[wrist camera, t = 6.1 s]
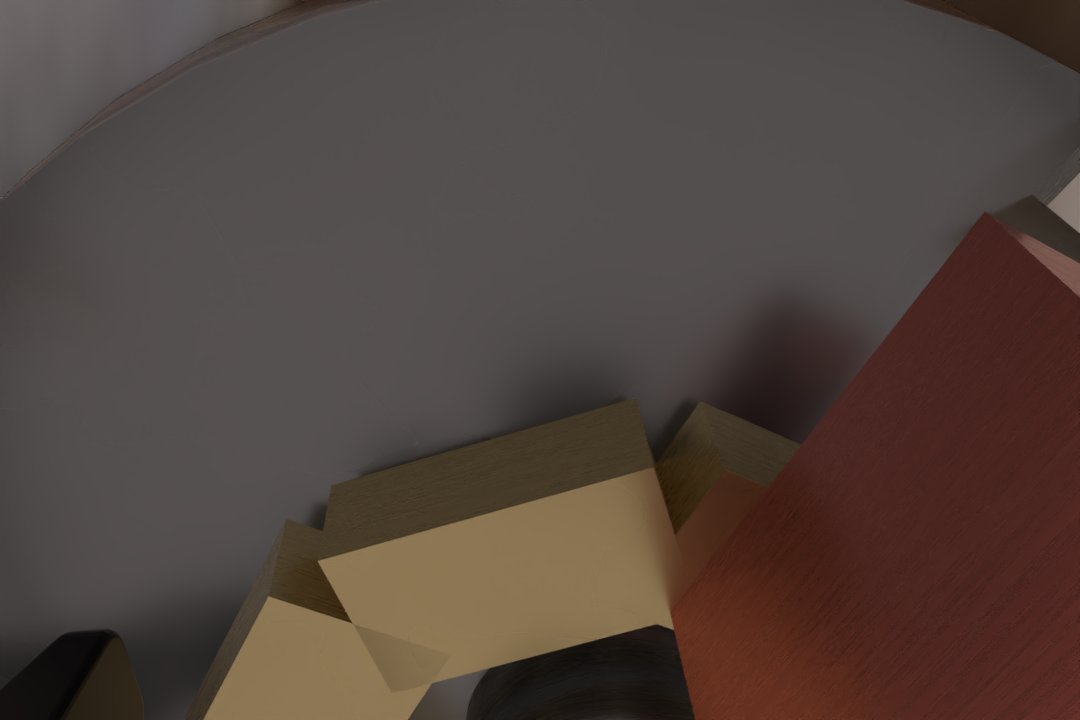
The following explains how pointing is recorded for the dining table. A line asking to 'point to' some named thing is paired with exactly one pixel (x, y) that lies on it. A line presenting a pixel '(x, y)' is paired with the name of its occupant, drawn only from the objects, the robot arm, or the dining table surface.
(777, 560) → the colourful block cluster
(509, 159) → the cap plate
